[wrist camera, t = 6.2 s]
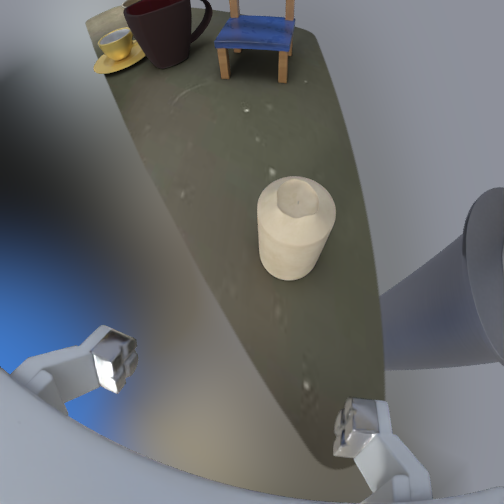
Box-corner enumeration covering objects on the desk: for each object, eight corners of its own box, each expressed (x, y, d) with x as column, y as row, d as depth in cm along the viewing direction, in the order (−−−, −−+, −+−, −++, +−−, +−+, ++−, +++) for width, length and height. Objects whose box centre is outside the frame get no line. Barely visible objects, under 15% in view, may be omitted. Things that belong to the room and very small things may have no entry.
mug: (135, 61, 43) (117, 9, 32) (202, 33, 45) (194, -18, 34) (153, 81, 40) (133, 20, 28) (229, 50, 42) (222, -10, 31)
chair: (287, 84, 38) (291, -8, 24) (219, 79, 39) (206, -8, 25) (293, 52, 41) (297, -25, 27) (234, 48, 42) (227, -26, 28)
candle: (328, 260, 28) (357, 208, 19) (280, 292, 27) (289, 252, 18) (295, 217, 30) (306, 152, 21) (248, 245, 29) (240, 187, 20)
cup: (89, 83, 41) (79, 61, 36) (99, 54, 45) (91, 35, 40) (152, 61, 42) (144, 37, 37) (153, 35, 46) (147, 15, 41)
